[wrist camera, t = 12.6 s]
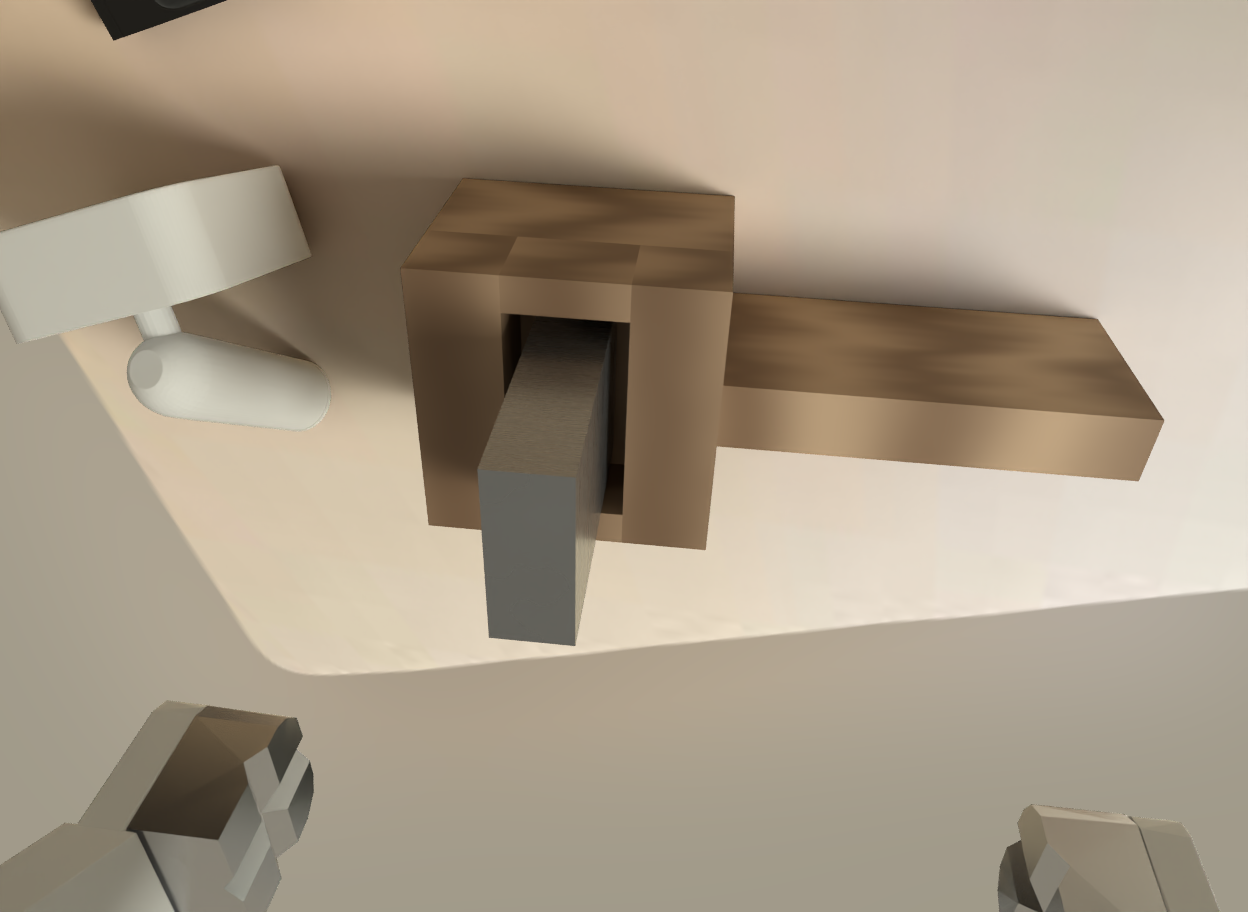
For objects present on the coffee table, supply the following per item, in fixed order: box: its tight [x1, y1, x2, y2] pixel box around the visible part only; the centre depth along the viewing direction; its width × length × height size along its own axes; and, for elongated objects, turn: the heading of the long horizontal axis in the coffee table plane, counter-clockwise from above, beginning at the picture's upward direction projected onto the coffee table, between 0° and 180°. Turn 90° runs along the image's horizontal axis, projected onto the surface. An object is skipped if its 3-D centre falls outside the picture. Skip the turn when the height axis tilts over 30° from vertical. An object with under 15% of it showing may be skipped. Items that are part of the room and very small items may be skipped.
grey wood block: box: [477, 316, 617, 646], centre depth 30 cm, size 2×6×10 cm, turn 178°
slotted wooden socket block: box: [400, 178, 1164, 550], centre depth 34 cm, size 24×10×8 cm, turn 88°
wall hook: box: [0, 165, 331, 431], centre depth 36 cm, size 8×10×10 cm
